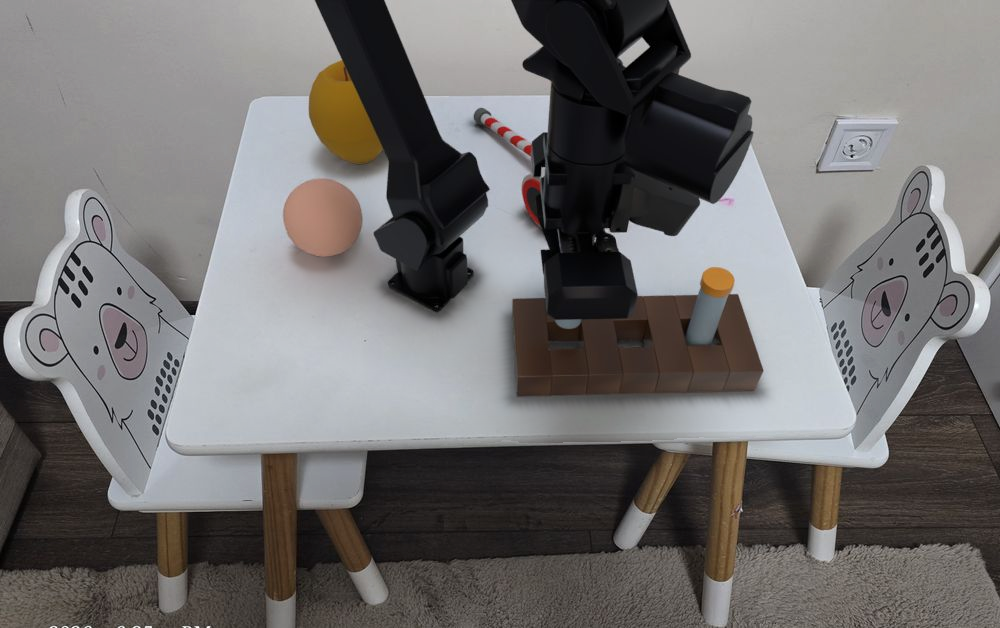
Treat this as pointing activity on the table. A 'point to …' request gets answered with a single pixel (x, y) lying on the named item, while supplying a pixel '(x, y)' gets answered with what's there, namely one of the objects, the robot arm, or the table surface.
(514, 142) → the toy hammer
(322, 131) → the apple
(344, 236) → the toy ball
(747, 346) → the rack
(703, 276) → the orange-capped peg
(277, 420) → the table surface
